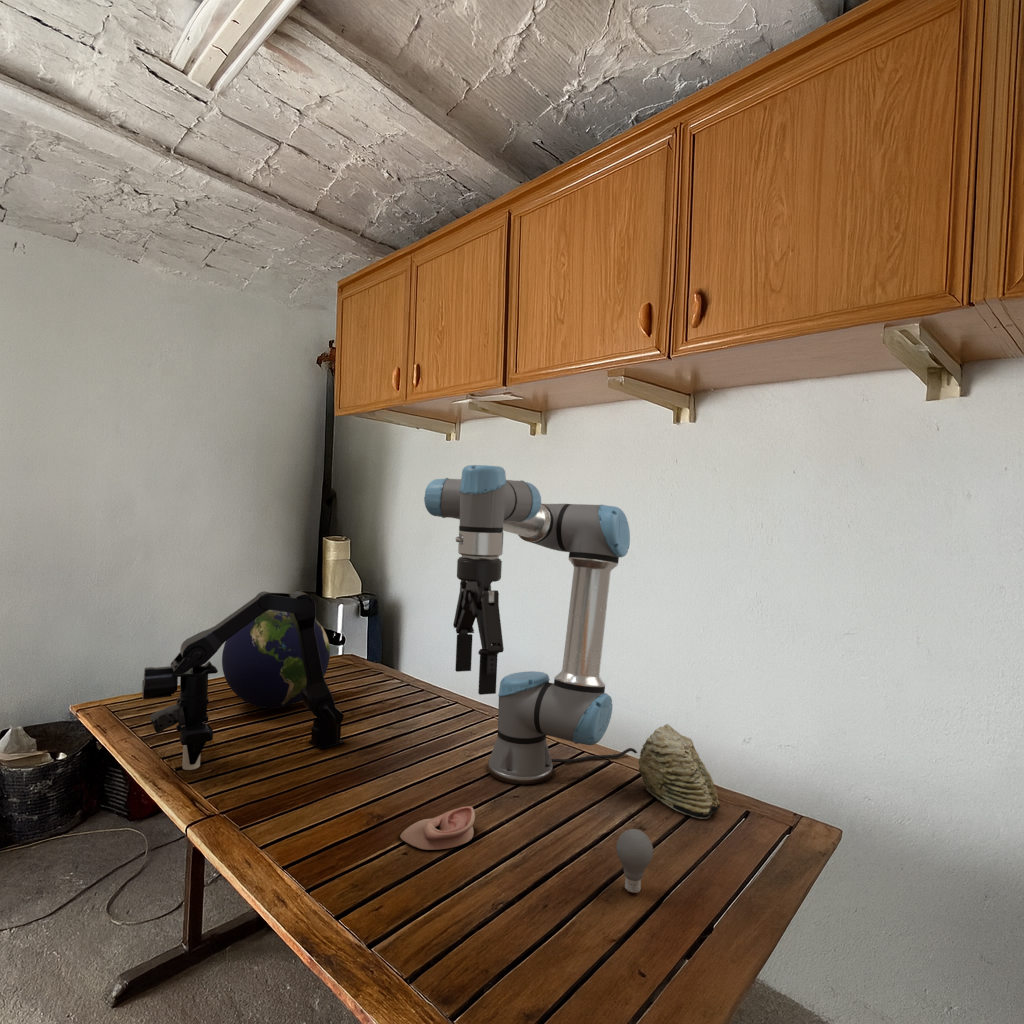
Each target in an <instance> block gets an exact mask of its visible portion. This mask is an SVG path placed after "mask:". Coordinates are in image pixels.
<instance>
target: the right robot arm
mask: <svg viewBox="0 0 1024 1024" xmlns="http://www.w3.org/2000/svg"><path fill="white" fill-rule="evenodd" d="M423 500H424V501H423V502H424V506H425V509H426V511H427V512H428V513H429V515H431V516H433V517H438V518H442V519H446V518H450V519H456V520H459V525H458V536H456V537H455V542H456V543H457V544H458V547H457V548H458V549H457V552H458V554H459V555H461V556H459V557H458V558H457V560H456V578H457V579H458V580H460V583H459V594H458V598H457V604H456V609H455V613H454V614H455V615H454V620H453V625H452V627H453V629H455V632H456V647H455V649H456V650H455V668H454V669H455V671H456V673H460V672H472V657H473V637H474V636H473V634H475V629H474V623H475V620H476V623H477V628H478V634H479V640H480V646H481V648H480V649H479V650H478V652H477V654H478V655H479V669H478V689H477V693H478V695H480V696H483V695H495V694H497V678H498V677H497V676H498V655H499V654H500V653H503V652H504V649H505V648H504V640H503V631H502V622H501V614H500V603H499V602H500V601H499V600H500V599H499V598H500V593H499V590H496V589H495V590H492V583H493V582H494V583H495V582H496V583H497V582H499V581H501V579H502V565H503V560H502V559H501V558H500V557H501V556H503V554H504V553H503V552H504V532H506V533H511V534H514V535H517V536H518V537H519V538H520V539H521V540H523V541H524V542H527V543H531V544H535V545H537V546H541V547H544V548H546V549H549V550H554V551H558V552H565V553H568V561H569V562H570V563H571V565H572V566H573V572H572V573H573V574H572V581H571V588H570V589H571V591H570V600H569V608H568V614H567V615H568V617H567V624H566V632H565V633H566V634H565V642H564V650H563V659H562V669H561V671H560V672H559V673H558V674H556V675H555V676H554V680H553V682H550V680H551V679H550V676H549V674H548V673H546V672H543V671H519V672H518V671H517V672H513V673H509V674H507V675H505V676H503V678H501V680H500V683H499V691H498V695H497V696H498V707H497V708H498V711H497V712H498V713H497V737H496V740H495V743H494V745H493V748H492V750H491V753H490V756H489V760H488V769H487V770H488V771H487V772H488V773H489V775H491V776H492V777H493V778H495V779H496V780H499V781H500V782H504V783H507V784H513V785H523V786H524V785H525V786H526V785H533V784H534V785H535V784H539V783H543V782H545V781H547V780H549V779H550V778H551V777H552V775H553V763H564V764H565V763H568V764H569V763H577V762H581V761H582V762H583V761H586V760H595V759H596V760H597V759H615V758H616V759H617V758H620V757H622V756H625V755H626V754H627V753H629V752H632V753H634V754H638V751H637V750H636V749H635V748H633V747H628V748H627V749H624V750H623V751H621V752H620V753H615V754H594V755H587V756H582V757H576V758H566V759H565V758H563V759H562V758H551V753H550V749H549V746H548V742H547V736H548V737H553V738H556V739H560V740H564V741H568V742H571V743H573V744H576V745H578V744H580V745H585V746H593V745H596V744H598V743H599V742H600V741H601V740H602V739H603V737H604V736H605V734H606V732H607V730H608V728H609V724H610V722H611V718H612V713H613V706H614V705H613V698H612V696H611V695H610V694H608V693H606V683H605V681H603V679H602V677H601V676H600V675H601V665H602V656H603V646H604V637H605V628H606V620H607V610H608V602H609V593H610V582H611V574H612V573H611V572H612V571H613V570H614V569H615V568H616V567H618V566H619V562H620V561H619V560H620V558H623V557H625V556H627V554H628V552H629V549H630V545H631V530H630V525H629V521H628V518H627V516H626V513H625V512H624V511H623V510H622V508H620V507H618V506H614V505H607V504H606V505H605V504H582V503H581V504H580V503H577V504H576V503H542V496H541V493H540V490H539V489H538V488H537V487H536V486H535V485H534V484H532V483H530V482H528V481H525V480H523V479H522V480H521V479H520V480H515V479H514V480H513V479H507V474H506V470H505V469H504V467H502V466H497V465H487V464H486V465H485V464H483V465H482V464H470V465H466V466H464V467H463V468H462V470H461V479H460V478H449V477H445V478H435V479H433V480H431V481H430V482H429V483H428V484H427V485H426V488H425V490H424V497H423Z"/></svg>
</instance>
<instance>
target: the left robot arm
mask: <svg viewBox="0 0 1024 1024" xmlns="http://www.w3.org/2000/svg"><path fill="white" fill-rule="evenodd" d="M267 610H275V611H281V612H288V613H289V615H290V617H291V619H292V621H293V623H294V625H295V627H296V629H297V634H298V639H299V644H300V649H301V654H302V659H303V664H304V669H305V674H306V679H307V684H306V688H305V689H301V693H302V695H303V700H302V705H304V707H305V708H306V709H307V710H308V711H309V712H311V713H312V715H313V716H314V717H315V719H313V721H312V722H313V723H312V727H311V730H310V731H311V732H310V733H311V735H310V739H309V740H308V743H309V744H310V745H313V746H314V747H316V748H318V749H320V750H327V749H329V748H333V747H336V746H340V745H343V744H344V743H345V741H344V740H343V739H341V737H342V735H341V733H342V722H343V720H344V717H345V714H344V713H343V712H342V711H341V710H340V709H338V707H336V701H335V699H334V697H333V694H332V692H331V690H330V687H329V686H328V683H327V681H326V680H325V675H323V670H322V665H321V660H320V654H319V649H318V644H317V639H316V634H315V629H314V625H315V619H316V620H317V603H316V601H315V598H314V597H313V596H311V595H309V594H308V593H306V592H304V591H300V590H295V591H292V592H291V593H286V592H270V591H260V592H259V593H257V594H256V596H254V597H253V598H252V599H251V600H249V601H247V602H246V603H244V604H243V605H242V606H241V607H239V608H238V609H236V610H235V611H234V612H233V613H230V614H229V615H228V616H226V617H225V618H224V619H223V620H222V621H220V622H218V623H217V624H216V625H214V626H212V627H210V628H208V629H205V630H202V631H199V632H198V633H196V634H194V635H192V636H190V637H188V638H186V639H185V640H184V641H182V643H181V645H180V649H179V651H180V652H179V653H178V654H177V655H176V656H175V657H174V659H173V660H172V661H171V662H170V666H169V665H167V666H157V667H152V666H149V667H144V669H143V670H144V673H143V680H142V683H141V684H142V686H141V687H142V688H141V689H142V690H141V691H142V693H141V694H142V695H141V696H142V700H143V701H144V700H153V699H161V698H170V697H172V696H173V695H175V693H176V692H177V691H178V685H179V696H178V697H177V698H176V703H175V704H173V705H170V706H167V707H164V708H162V709H160V710H158V711H155V712H154V713H151V714H150V715H149V718H150V722H151V724H152V726H153V729H154V731H155V733H156V734H159V733H161V732H163V731H164V730H166V729H168V728H170V727H173V726H175V725H176V726H175V729H176V731H177V732H179V736H178V738H179V742H180V745H181V746H184V745H187V751H188V757H189V762H190V765H192V764H195V763H196V761H197V759H198V757H199V755H200V756H201V754H200V753H202V751H203V749H204V747H205V746H206V744H207V743H209V742H211V741H214V730H213V728H212V727H211V725H209V724H208V723H207V722H209V715H208V705H209V703H210V699H209V697H208V695H209V693H208V692H209V675H212V674H218V672H219V670H218V669H217V667H216V666H214V665H213V664H212V662H211V661H210V659H212V658H213V656H214V655H215V654H216V653H217V652H218V651H219V650H220V649H221V647H222V646H223V645H224V644H225V642H226V640H228V639H229V638H230V637H232V636H233V635H234V634H236V633H237V632H238V631H240V630H241V629H243V628H244V627H245V626H247V625H248V624H249V623H251V622H252V621H253V620H255V619H256V618H258V617H259V616H260V615H262V614H263V613H264V612H266V611H267ZM179 678H180V681H178V680H179Z"/></svg>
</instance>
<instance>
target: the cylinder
mask: <svg viewBox="0 0 1024 1024" xmlns="http://www.w3.org/2000/svg"><path fill="white" fill-rule="evenodd" d="M201 753H202V752H201ZM201 753H200V755H199V757H198V759H197V761H196V763H195V764H192V765H190V762H189V757H188V751H187V745H182V763H181V764H182V765H181V766H182V767H181V768H182V770H184V771H192V770H196V769H199V768H200V767H201Z"/></svg>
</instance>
